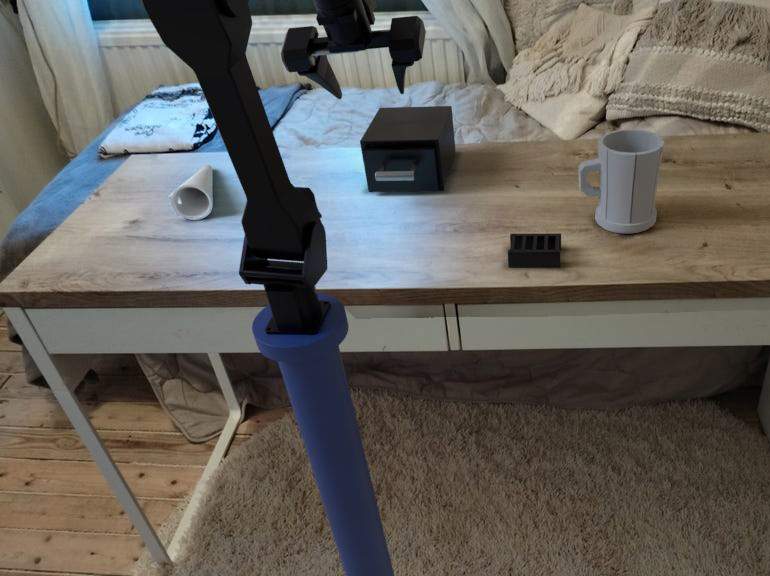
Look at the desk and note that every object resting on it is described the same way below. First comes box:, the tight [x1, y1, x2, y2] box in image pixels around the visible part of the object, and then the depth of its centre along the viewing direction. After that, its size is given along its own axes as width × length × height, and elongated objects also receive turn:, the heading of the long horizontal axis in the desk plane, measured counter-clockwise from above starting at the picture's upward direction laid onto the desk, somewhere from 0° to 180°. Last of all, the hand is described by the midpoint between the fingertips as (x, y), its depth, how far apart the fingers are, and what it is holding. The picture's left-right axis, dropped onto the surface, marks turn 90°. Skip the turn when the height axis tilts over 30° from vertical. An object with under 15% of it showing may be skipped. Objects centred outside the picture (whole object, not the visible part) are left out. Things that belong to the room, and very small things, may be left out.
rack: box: [507, 232, 562, 269], centre depth 96 cm, size 7×5×2 cm
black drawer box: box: [359, 105, 457, 193], centre depth 118 cm, size 15×13×9 cm
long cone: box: [168, 164, 214, 221], centre depth 119 cm, size 6×6×19 cm
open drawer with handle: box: [361, 144, 439, 192], centre depth 115 cm, size 18×11×7 cm, turn 174°
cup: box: [577, 128, 665, 235], centre depth 99 cm, size 10×9×12 cm
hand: (371, 94), depth 101 cm, fingers open, 9 cm apart
